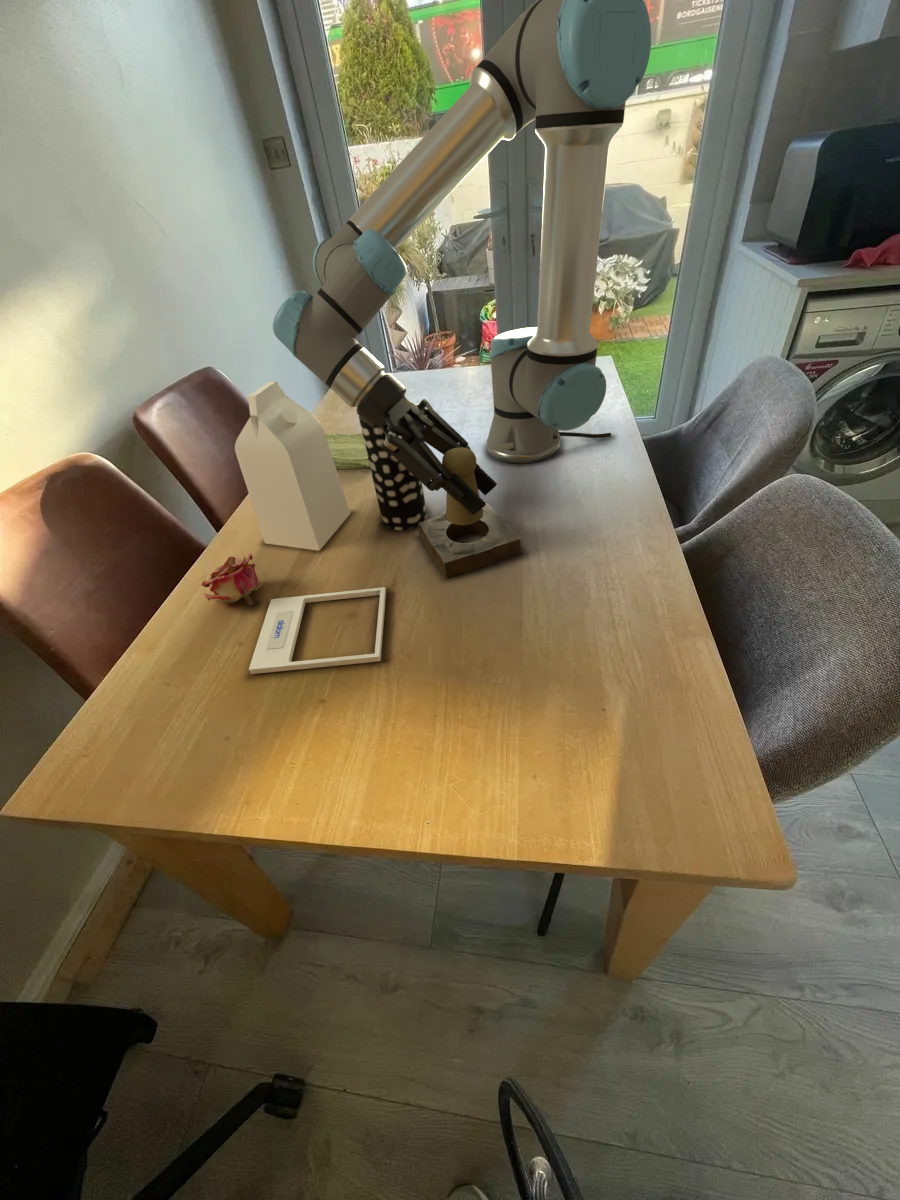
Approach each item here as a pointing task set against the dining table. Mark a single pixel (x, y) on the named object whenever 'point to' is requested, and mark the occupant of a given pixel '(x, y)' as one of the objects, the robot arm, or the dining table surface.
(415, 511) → the spotted tube
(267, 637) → the photo frame
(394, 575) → the dining table surface
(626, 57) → the robot arm
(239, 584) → the flower
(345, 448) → the washcloth
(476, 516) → the wooden peg doll
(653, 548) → the dining table surface
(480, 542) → the ring plate
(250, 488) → the milk
